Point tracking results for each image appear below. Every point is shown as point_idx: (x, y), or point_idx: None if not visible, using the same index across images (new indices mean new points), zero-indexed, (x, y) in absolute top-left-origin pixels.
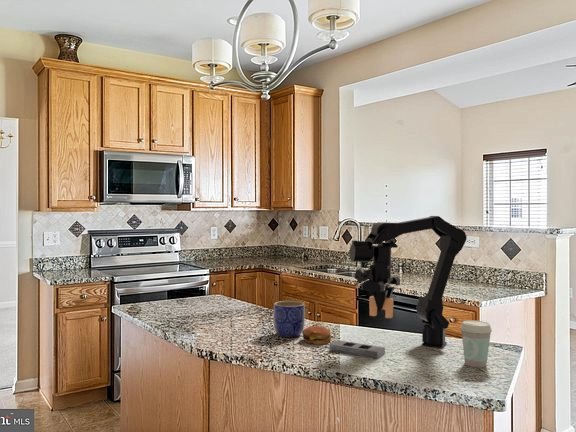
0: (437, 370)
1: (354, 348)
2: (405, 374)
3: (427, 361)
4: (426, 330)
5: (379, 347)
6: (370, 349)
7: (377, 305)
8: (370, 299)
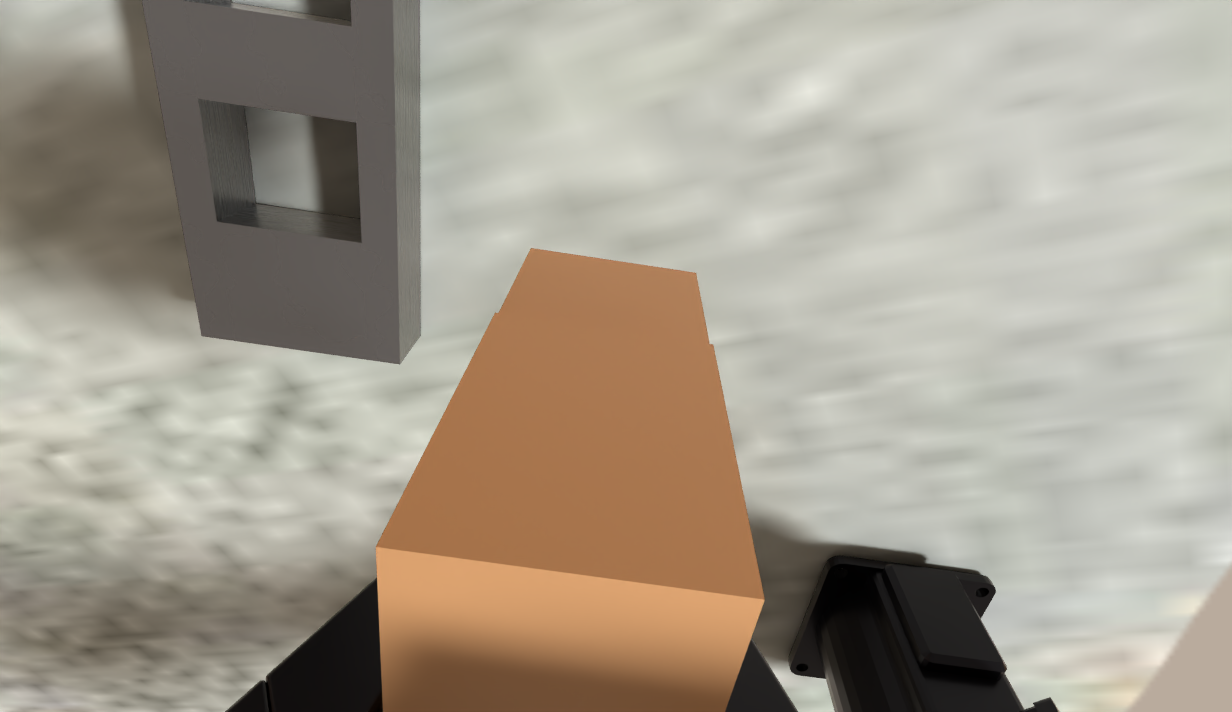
0: (263, 664)
1: (156, 67)
2: (47, 536)
3: None
4: (894, 686)
5: (363, 319)
6: (237, 253)
7: (376, 597)
8: (411, 511)
